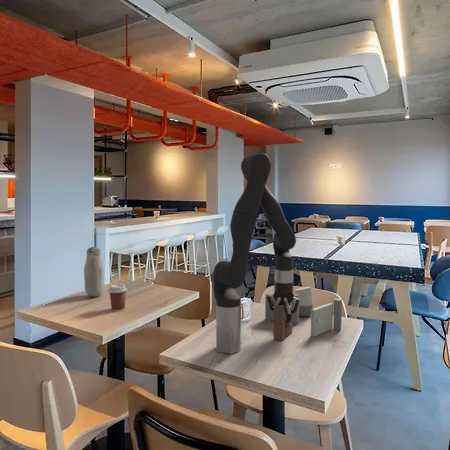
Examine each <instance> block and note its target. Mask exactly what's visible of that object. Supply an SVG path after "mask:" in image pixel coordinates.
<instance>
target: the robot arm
mask: <svg viewBox="0 0 450 450" xmlns="http://www.w3.org/2000/svg"><path fill="white" fill-rule="evenodd" d="M240 169H241V173H242V174H243V176H244V178H245V180H246V181H247V183H246V186H245V188H244V190H243V192H242V194H241V196H240V197H239V198H238V201H237V202H236V204H235V206H234V209H233V211H232V215H231V220H230V225H229V229H230V234H231V240H232V255H231V259H230V261H229V260H220V261H218V262H217V263H216V264H215V266H214V269H213V274H212V280H213V281H212V283H213V295H214V299H215V301H216V303H215V318H216V320H215V321H216V322H215V323H216V324H215V327H216V328H215V330H216V331H215V334H216V336H215V341H216V342H215V344H216V346H215V349H216V352H217V353H222V354H227V355H233V354H235V353H238V352H240V350H241V349H242V348H241V347H242V346H241V343H242V342H241V340H242V338H241V337H242V336H241V334H242V333H241V331H242V330H241V329H242V321H241V320H242V316H241V314H242V299H241V296H240V295H239V293H238V292H236V290H237V289H239V288H240V287H241V286H243V283H244V282H245V280H246V279H245V278H246V275H247V271H248V270H247V269H248V262H249V254H250V249H251V245H252V239H253V236H254V232H255V228H256V225H257V224H256V223H257V220H258V215H259V212H260V207H261V209H262V211H263V214H264V216H265V219H266V221H267V223H268V226H269V227H270V228H271V229H272V230H273V231H274V233H275V234H274V235H273V238H272V247H273V251H274V252H273V253H274V256H275V262H274V263H275V266H274V267H275V268H274V283H273V284H274V285H273V286H274V288H273V289H274V290H273V291H274V292H273V293H272V294H273V295H269V296H267V300H268V303H269V306H270V309H271V310H273V311H274V303H273V297H274V299H275V300H276V302H277V303H276V305H277V306H280V305H285V306H286V308H287V311H288V314H287V323H290V322H291V320H292V313H295V312H296V311H297V308H298V306H299V303H300V300H301V299H300V298H296V297H294V295H293V294H294V259H293V256H292V255H291V253H290V250H292V249H294V247H295V246H296V243H297V238H296V235H295V232H294V230H293V228H292V227H291V226H290V224H289V222H288V221H287V219H286V217H285V213H284V211H283V209H282V206H281V204H280V202H279V201H278V199H277V198H276V197H275V196H274V194H273V193H272V192H271V190H270V188H268V186H267V182H268V179H269V176H270V173H271V169H272V162H271V158H270V157H269V156H268V154H266V153H263V152H258V153H253V154H251V155H248V156H246V157H244V158H243V159H242V161H241V164H240ZM292 300H294V303H295V306H294V308H293V309H292V308H291V301H292Z"/></svg>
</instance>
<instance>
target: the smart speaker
mask: <svg viewBox="0 0 450 450" xmlns="http://www.w3.org/2000/svg"><path fill="white" fill-rule="evenodd" d="M312 289H313V288H312V286H309V285H308V286H303V287H300V288H297V289H295V290H294V294H299V298H300V299H301V300H300V303H299V318H300V317H301V318H302V317H303V318H305V317H311V309H314V308H313V306H314V304H313V293H312Z"/></svg>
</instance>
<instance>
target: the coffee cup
mask: <svg viewBox="0 0 450 450" xmlns="http://www.w3.org/2000/svg"><path fill="white" fill-rule="evenodd" d="M107 291H108V293H109V299H110V305H111V306H110V307H111V311H113V312H121V311H125V309H126V299H127V298H126V295H127V294H126V293H127V291H128V288H127V287H126V285H125V284H123V283H122V284H121V283H116V284H112V285H110V286H109V288H108V290H107Z"/></svg>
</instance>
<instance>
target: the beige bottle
mask: <svg viewBox="0 0 450 450" xmlns="http://www.w3.org/2000/svg"><path fill="white" fill-rule="evenodd" d="M103 263H104V261H103V259H102V252H101V249H100V248H99V247H98V246H90V247H88V248H87V250H86V258H85V263H84V268H83V277H84V290H85V293H86V294H87V296H89V297H90V298H98V297H100V296H102V295H103V293H104V290H105V266H104V264H103Z"/></svg>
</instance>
